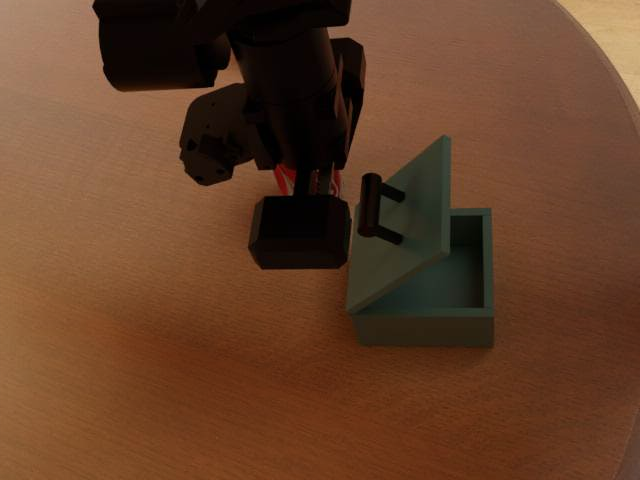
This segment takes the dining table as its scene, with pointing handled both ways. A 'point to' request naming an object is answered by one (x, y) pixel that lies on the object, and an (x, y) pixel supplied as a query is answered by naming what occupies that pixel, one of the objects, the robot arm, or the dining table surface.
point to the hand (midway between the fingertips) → (332, 214)
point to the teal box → (440, 295)
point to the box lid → (400, 225)
